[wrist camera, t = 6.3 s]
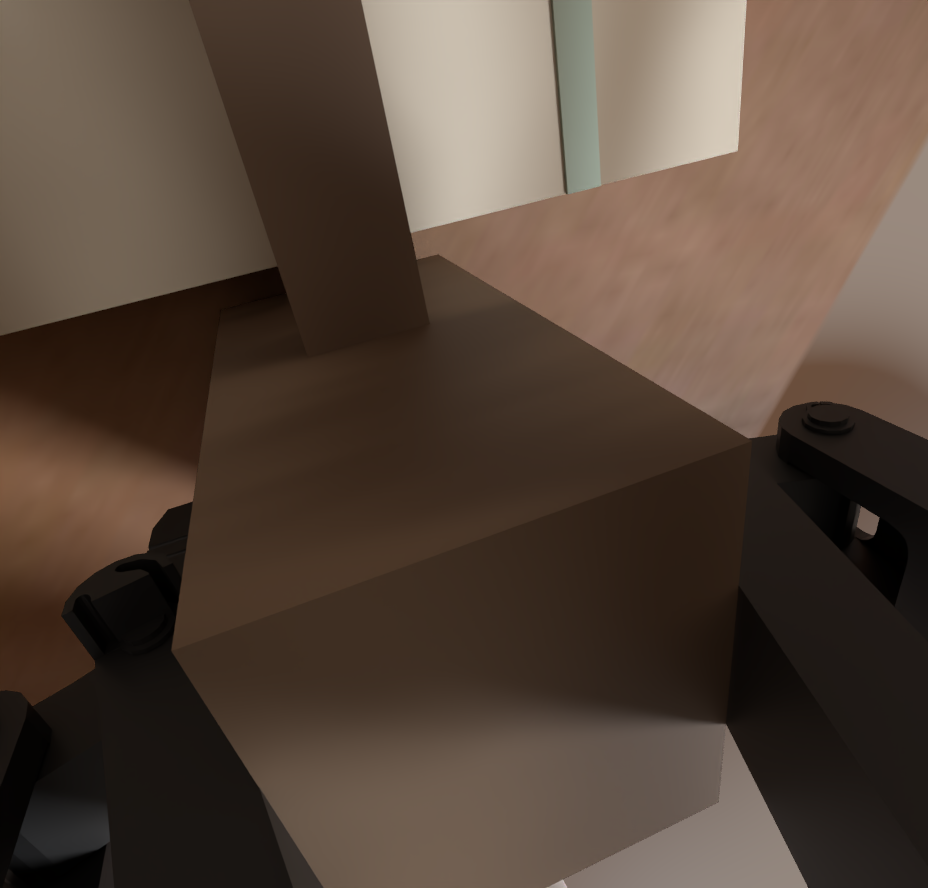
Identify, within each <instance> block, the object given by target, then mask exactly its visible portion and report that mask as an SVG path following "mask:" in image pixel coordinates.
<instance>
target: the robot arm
mask: <svg viewBox="0 0 928 888" xmlns="http://www.w3.org/2000/svg"><path fill="white" fill-rule="evenodd" d="M749 439H750V440H751V441H752V447H751V458H750V469H749V479H748V490H747V501H746V512H745V523H744V533H743V544H742V555H741V566H740V576H739V587H738V598H737V609H736V620H735V630H734V641H733V652H732V663H731V673H730V684H729V695H728V706H727V717H726V724H727V726H728V728H729V730H730V732H731V734H732V736H733V738H734V740H735V742H736V744H737V746H738V748H739V750H740V752H741V754H742V756H743V758H744V760H745V762H746V764H747V766H748V768H749V770H750V772H751V774H752V776H753V778H754V780H755V782H756V784H757V786H758V788H759V790H760V792H761V794H762V796H763V798H764V800H765V802H766V804H767V806H768V808H769V810H770V812H771V814H772V816H773V818H774V820H775V822H776V824H777V826H778V828H779V830H780V832H781V834H782V836H783V838H784V840H785V842H786V844H787V846H788V848H789V850H790V852H791V854H792V856H793V858H794V860H795V862H796V864H797V866H798V868H799V870H800V872H801V874H802V876H803V878H804V880H805V882H806V884H807V886H808V888H928V440H927V439H925V438H923V437H920V436H918V435H916V434H913V433H911V432H909V431H907V430H904V429H902V428H900V427H898V426H896V425H894V424H891V423H889V422H887V421H885V420H882V419H880V418H878V417H876V416H873V415H871V414H869V413H866V412H864V411H862V410H860V409H856V408H853V407H850V406H847V405H842V404H835V403H832V402H810V403H805V404H801V405H796V406H793V407H791V408H789V409H787V410H785V411H784V412H783V413H782V415H781V416H780V418H779V423H778V432H777V435H772V436H765V437H757V438H749ZM192 505H193V502H190V503H187V504H184V505H181V506H178V507H175V508H171V509H168V510H167V512H166V513H165V514H164V515H163V517H162V518H161V519H160V520H159V522H158V523H157V524H156V525H155V527H154V528H153V530H152V534H151V538H150V542H149V547H148V548H149V551H147V553H144V554H137V555H133V556H130V557H127V558H124V559H122V560H119V561H116V562H114V563H112V564H110V565H108V566H107V567H105V568H103V569H101V570H100V571H98V572H96V573H94V574H93V575H92V576H91V577H89V578H88V579H87V580H86V581H84V582H83V583H82V584H81V585H80V586H78V587H77V588H76V590H75V591H74V592H73V593H72V595H71V596H70V597H69V598H68V600H67V601H66V602H65V605H64V609H63V612H62V615H61V616H62V618H63V619H64V620H65V622H66V623H67V624H68V626H69V627H70V628H71V630H72V631H73V632H74V634H75V635H76V636H77V638H78V639H79V640H80V642H81V643H82V644H83V646H84V647H85V648H86V650H87V651H88V652H89V654H90V655H91V656H92V658H93V659H94V660H95V669H94V670H92V671H91V672H89V673H88V674H86V675H85V676H83V677H82V678H80V679H79V680H77V681H76V682H74V683H72V684H71V685H69V686H67V687H65V688H64V689H62V690H60V691H58V692H57V693H55V694H53V695H52V696H50V697H48V698H46V699H45V700H43V701H41V702H39V703H38V704H36V705H34V706H32V705H31V704H30V703H29V702H28V701H27V700H26V698H25V697H24V696H23V695H22V694H21V693H20V692H13V691H6V690H5V691H1V692H0V888H324V887H323V886H322V884H321V883H320V881H319V880H318V878H317V877H316V875H315V873H314V872H313V870H312V869H311V867H310V866H309V864H308V863H307V861H306V859H305V858H304V856H303V855H302V853H301V852H300V850H299V848H298V847H297V845H296V844H295V842H294V841H293V839H292V838H291V836H290V834H289V833H288V831H287V830H286V828H285V827H284V825H283V823H282V822H281V820H280V819H279V817H278V816H277V814H276V813H275V811H274V809H273V808H272V806H271V805H270V803H269V802H268V800H267V798H266V797H265V795H264V794H263V792H262V791H261V789H260V788H259V787H258V785H257V784H256V782H255V781H254V779H253V778H252V776H251V775H250V773H249V771H248V770H247V768H246V767H245V765H244V764H243V762H242V760H241V759H240V757H239V756H238V754H237V753H236V751H235V750H234V748H233V746H232V745H231V743H230V742H229V740H228V739H227V737H226V735H225V734H224V732H223V731H222V729H221V728H220V726H219V725H218V723H217V721H216V720H215V718H214V717H213V715H212V714H211V712H210V711H209V709H208V707H207V706H206V704H205V703H204V701H203V700H202V698H201V696H200V695H199V693H198V692H197V690H196V689H195V687H194V686H193V684H192V682H191V681H190V679H189V678H188V676H187V675H186V673H185V671H184V670H183V668H182V667H181V665H180V664H179V662H178V661H177V659H176V657H175V656H174V654H173V653H172V651H171V650H172V643H173V636H174V629H175V622H176V615H177V609H178V602H179V595H180V588H181V581H182V574H183V567H184V560H185V553H186V547H187V540H188V533H189V526H190V519H191V512H192ZM861 506H862V507H864V508H866V509H867V510H868V511H870V512H872V513H873V514H875V515H877V516H878V517H880V518H879V522H878V526H877V531H876V533H875V535H870V534H868V533H865V532H863V531H862V530H860V529H859V528H857V522H858V517H859V513H860V508H861Z"/></svg>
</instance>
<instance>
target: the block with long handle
mask: <svg viewBox="0 0 928 888" xmlns="http://www.w3.org/2000/svg"><path fill="white" fill-rule="evenodd" d="M189 3H190V6H191V9H192V12H193V15H194V18H195V21H196V24H197V27H198V30H199V33H200V36H201V39H202V42H203V45H204V48H205V51H206V54H207V57H208V60H209V63H210V66H211V69H212V72H213V75H214V77H215V80H216V83H217V86H218V89H219V92H220V95H221V98H222V101H223V104H224V107H225V110H226V113H227V116H228V119H229V122H230V125H231V128H232V131H233V134H234V137H235V140H236V143H237V146H238V149H239V152H240V155H241V158H242V161H243V164H244V167H245V170H246V173H247V176H248V179H249V182H250V185H251V188H252V191H253V194H254V197H255V200H256V203H257V206H258V209H259V212H260V215H261V218H262V221H263V224H264V227H265V230H266V233H267V236H268V239H269V242H270V245H271V248H272V251H273V254H274V257H275V260H276V263H277V266H278V269H279V272H280V275H281V278H282V281H283V284H284V287H285V290H286V294H282V295H278V296H274V297H270V298H266V299H262V300H259V301H255V302H251V303H247V304H243V305H239V306H235V307H231V308H227V309H224V310H221V312H220V319H219V326H218V333H217V340H216V347H215V354H214V361H213V367H212V374H211V381H210V388H209V395H208V402H207V409H206V416H205V423H204V429H203V436H202V443H201V450H200V457H199V464H198V471H197V478H196V485H195V491H194V498H193V505H192V512H191V519H190V526H189V533H188V540H187V547H186V553H185V560H184V567H183V574H182V581H181V588H180V595H179V602H178V609H177V615H176V622H175V629H174V636H173V643H172V650H171V651H172V653H173V654H174V656H175V657H176V659H177V661H178V662H179V664H180V665H181V667H182V668H183V670H184V671H185V673H186V675H187V676H188V678H189V679H190V681H191V682H192V684H193V686H194V687H195V689H196V690H197V692H198V693H199V695H200V696H201V698H202V700H203V701H204V703H205V704H206V706H207V707H208V709H209V711H210V712H211V714H212V715H213V717H214V718H215V720H216V721H217V723H218V725H219V726H220V728H221V729H222V731H223V732H224V734H225V735H226V737H227V739H228V740H229V742H230V743H231V745H232V746H233V748H234V750H235V751H236V753H237V754H238V756H239V757H240V759H241V760H242V762H243V764H244V765H245V767H246V768H247V770H248V771H249V773H250V775H251V776H252V778H253V779H254V781H255V782H256V784H257V785H258V787H259V788H260V789H261V791H262V792H263V794H264V795H265V797H266V798H267V800H268V802H269V803H270V805H271V806H272V808H273V809H274V811H275V813H276V814H277V816H278V817H279V819H280V820H281V822H282V823H283V825H284V827H285V828H286V830H287V831H288V833H289V834H290V836H291V838H292V839H293V841H294V842H295V844H296V845H297V847H298V848H299V850H300V852H301V853H302V855H303V856H304V858H305V859H306V861H307V863H308V864H309V866H310V867H311V869H312V870H313V872H314V873H315V875H316V877H317V878H318V880H319V881H320V883H321V884H322V886H323V887H324V888H547V887H549V886H551V885H553V884H555V883H557V882H559V881H561V880H563V879H565V878H567V877H569V876H571V875H573V874H575V873H577V872H579V871H581V870H583V869H585V868H587V867H589V866H591V865H593V864H595V863H597V862H599V861H601V860H603V859H605V858H607V857H609V856H611V855H613V854H615V853H617V852H619V851H621V850H623V849H625V848H627V847H629V846H631V845H633V844H635V843H637V842H639V841H642V840H644V839H646V838H647V837H649V836H651V835H654V834H655V833H658V832H659V831H662V830H663V829H666V828H668V827H670V826H672V825H674V824H676V823H678V822H680V821H682V820H684V819H686V818H688V817H690V816H692V815H694V814H696V813H698V812H700V811H702V810H704V809H706V808H708V807H710V806H712V805H714V804H716V803H718V802H719V792H720V780H721V770H722V760H723V759H722V758H723V748H724V738H725V726H726V717H727V706H728V695H729V684H730V673H731V663H732V652H733V641H734V630H735V620H736V609H737V598H738V587H739V576H740V566H741V555H742V544H743V533H744V523H745V512H746V501H747V490H748V479H749V469H750V458H751V447H752V441H751V440H750V439H748V438H746V437H745V436H743V435H741V434H740V433H738V432H736V431H735V430H733V429H731V428H729V427H728V426H726V425H724V424H723V423H721V422H719V421H718V420H716V419H714V418H713V417H711V416H709V415H708V414H706V413H704V412H703V411H701V410H699V409H698V408H696V407H694V406H692V405H691V404H689V403H687V402H686V401H684V400H682V399H681V398H679V397H677V396H676V395H674V394H672V393H671V392H669V391H667V390H666V389H664V388H662V387H660V386H659V385H657V384H655V383H654V382H652V381H650V380H649V379H647V378H645V377H644V376H642V375H640V374H639V373H637V372H635V371H634V370H632V369H630V368H628V367H627V366H625V365H623V364H622V363H620V362H618V361H617V360H615V359H613V358H612V357H610V356H608V355H607V354H605V353H603V352H602V351H600V350H598V349H597V348H595V347H593V346H591V345H590V344H588V343H586V342H585V341H583V340H581V339H580V338H578V337H576V336H575V335H573V334H571V333H570V332H568V331H566V330H565V329H563V328H561V327H559V326H558V325H556V324H554V323H553V322H551V321H549V320H548V319H546V318H544V317H543V316H541V315H539V314H538V313H536V312H534V311H533V310H531V309H529V308H528V307H526V306H524V305H522V304H521V303H519V302H517V301H516V300H514V299H512V298H511V297H509V296H507V295H506V294H504V293H502V292H501V291H499V290H497V289H496V288H494V287H492V286H490V285H489V284H487V283H485V282H484V281H482V280H480V279H479V278H477V277H475V276H474V275H472V274H470V273H469V272H467V271H465V270H464V269H462V268H460V267H459V266H457V265H455V264H453V263H452V262H450V261H448V260H447V259H445V258H443V257H442V256H440V255H434V256H430V257H426V258H422V259H418V260H416V256H415V251H414V246H413V242H412V237H411V232H410V228H409V223H408V218H407V213H406V209H405V204H404V199H403V195H402V190H401V185H400V180H399V176H398V171H397V166H396V162H395V157H394V152H393V147H392V143H391V138H390V133H389V129H388V124H387V119H386V114H385V110H384V105H383V100H382V96H381V91H380V86H379V81H378V77H377V72H376V67H375V63H374V58H373V53H372V48H371V44H370V39H369V34H368V30H367V25H366V20H365V15H364V11H363V6H362V1H361V0H189Z"/></svg>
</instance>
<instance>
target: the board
mask: <svg viewBox="0 0 928 888" xmlns="http://www.w3.org/2000/svg"><path fill="white" fill-rule="evenodd" d="M361 1H362V6H363V11H364V15H365V20H366V25H367V30H368V34H369V39H370V44H371V48H372V53H373V58H374V63H375V67H376V72H377V77H378V81H379V86H380V91H381V96H382V100H383V105H384V110H385V114H386V119H387V124H388V129H389V133H390V138H391V143H392V147H393V152H394V157H395V162H396V166H397V171H398V176H399V180H400V185H401V190H402V195H403V199H404V204H405V209H406V213H407V218H408V223H409V228H410V232H411V233H412V232H416V231H420V230H424V229H428V228H432V227H436V226H440V225H444V224H448V223H452V222H456V221H460V220H464V219H468V218H472V217H476V216H480V215H484V214H488V213H492V212H496V211H500V210H504V209H508V208H512V207H516V206H520V205H524V204H528V203H532V202H536V201H540V200H544V199H548V198H552V197H556V196H560V195H564V194H571V193H575V192H579V191H583V190H587V189H591V188H595V187H599V186H601V185H604V184H608V183H612V182H616V181H620V180H624V179H628V178H632V177H636V176H640V175H644V174H648V173H652V172H656V171H660V170H664V169H668V168H672V167H676V166H680V165H684V164H688V163H692V162H696V161H700V160H704V159H708V158H712V157H716V156H720V155H724V154H728V153H732V152H736V151H738V137H739V120H740V103H741V86H742V69H743V52H744V35H745V18H746V1H747V0H361ZM276 266H277V263H276V260H275V257H274V254H273V251H272V248H271V245H270V242H269V239H268V236H267V233H266V230H265V227H264V224H263V221H262V218H261V215H260V212H259V209H258V206H257V203H256V200H255V197H254V194H253V191H252V188H251V185H250V182H249V179H248V176H247V173H246V170H245V167H244V164H243V161H242V158H241V155H240V152H239V149H238V146H237V143H236V140H235V137H234V134H233V131H232V128H231V125H230V122H229V119H228V116H227V113H226V110H225V107H224V104H223V101H222V98H221V95H220V92H219V89H218V86H217V83H216V80H215V77H214V75H213V72H212V69H211V66H210V63H209V60H208V57H207V54H206V51H205V48H204V45H203V42H202V39H201V36H200V33H199V30H198V27H197V24H196V21H195V18H194V15H193V12H192V9H191V6H190V3H189V0H0V336H1V335H5V334H8V333H12V332H16V331H20V330H24V329H28V328H32V327H36V326H40V325H44V324H48V323H52V322H56V321H60V320H64V319H68V318H72V317H76V316H80V315H84V314H88V313H92V312H96V311H100V310H104V309H108V308H112V307H116V306H120V305H124V304H128V303H132V302H136V301H140V300H144V299H148V298H152V297H156V296H160V295H164V294H168V293H172V292H176V291H180V290H184V289H188V288H192V287H196V286H200V285H204V284H208V283H212V282H216V281H220V280H224V279H228V278H232V277H236V276H240V275H244V274H248V273H252V272H256V271H260V270H264V269H268V268H272V267H276Z"/></svg>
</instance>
